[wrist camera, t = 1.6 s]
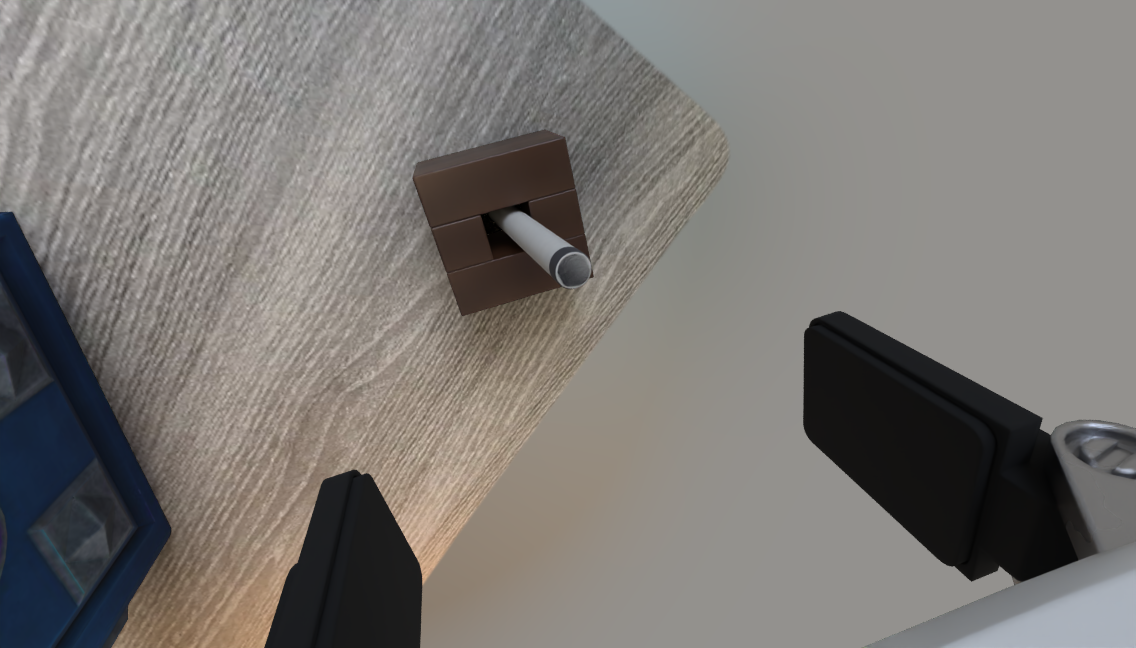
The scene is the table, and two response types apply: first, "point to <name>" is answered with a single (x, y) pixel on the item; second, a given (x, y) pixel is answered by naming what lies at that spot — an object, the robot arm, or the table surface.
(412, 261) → the table surface
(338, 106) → the table surface
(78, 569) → the book
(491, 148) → the pen stand
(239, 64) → the table surface
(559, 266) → the stylus
